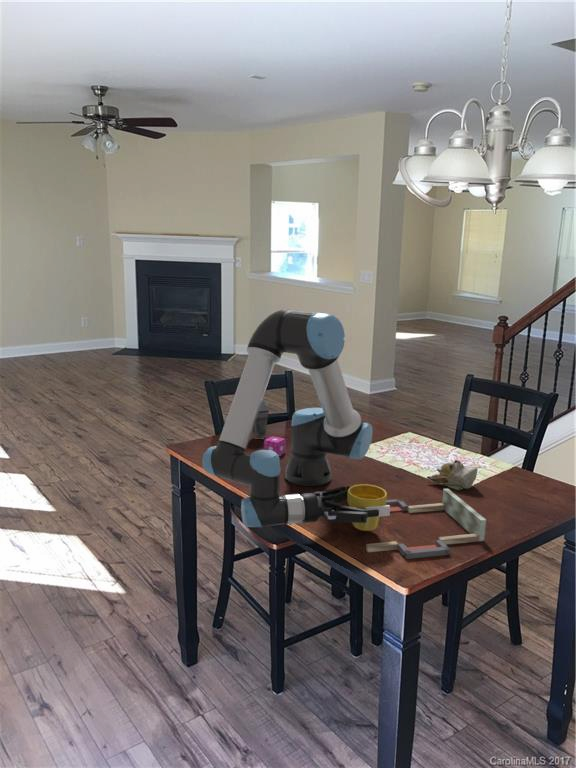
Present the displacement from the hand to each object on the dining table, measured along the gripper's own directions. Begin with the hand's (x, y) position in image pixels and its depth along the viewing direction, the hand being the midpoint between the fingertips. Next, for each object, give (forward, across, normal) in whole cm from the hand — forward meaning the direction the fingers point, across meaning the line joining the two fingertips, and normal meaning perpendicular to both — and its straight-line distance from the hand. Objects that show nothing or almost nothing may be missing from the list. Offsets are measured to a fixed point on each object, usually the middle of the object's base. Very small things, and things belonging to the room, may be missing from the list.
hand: (381, 501), depth 165 cm
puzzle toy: (-15, -64, -9) cm, 66 cm away
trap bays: (+7, 0, -9) cm, 11 cm away
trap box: (+9, 0, -9) cm, 12 cm away
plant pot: (-4, 0, -7) cm, 8 cm away
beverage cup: (-17, -83, -9) cm, 85 cm away
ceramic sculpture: (+36, -26, -9) cm, 46 cm away
